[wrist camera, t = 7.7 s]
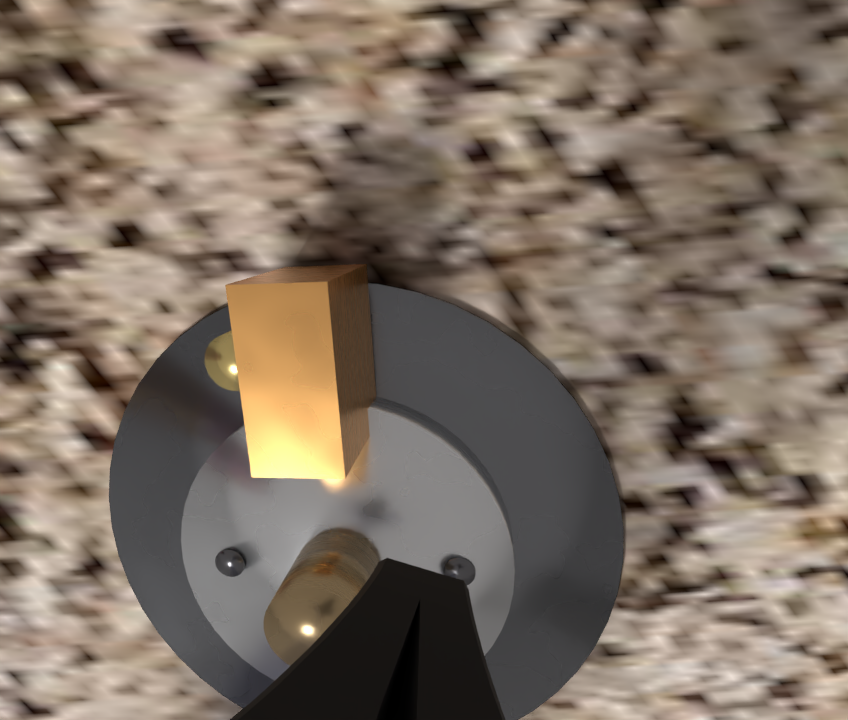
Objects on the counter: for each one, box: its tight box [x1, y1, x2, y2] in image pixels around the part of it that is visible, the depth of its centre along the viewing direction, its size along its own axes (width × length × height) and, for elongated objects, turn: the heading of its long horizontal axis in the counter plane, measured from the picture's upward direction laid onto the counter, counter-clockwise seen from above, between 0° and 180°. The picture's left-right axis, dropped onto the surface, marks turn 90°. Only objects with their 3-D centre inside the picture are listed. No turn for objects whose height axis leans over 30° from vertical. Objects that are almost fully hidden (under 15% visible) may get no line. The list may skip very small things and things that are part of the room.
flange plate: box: [181, 264, 515, 681], centre depth 17 cm, size 11×15×4 cm
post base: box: [109, 283, 623, 720], centre depth 18 cm, size 18×18×4 cm
